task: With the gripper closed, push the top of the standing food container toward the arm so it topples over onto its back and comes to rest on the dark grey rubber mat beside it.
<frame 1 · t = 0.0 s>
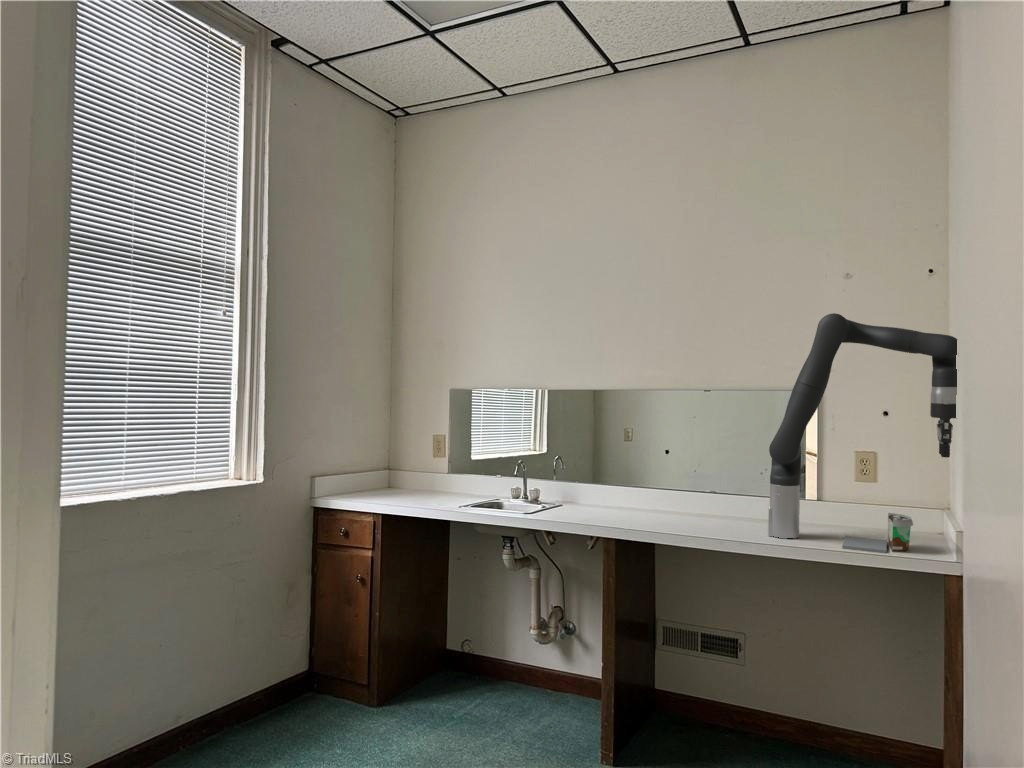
hand: (944, 455, 213), 29 cm above the counter, fingers open, 8 cm apart
food container: (901, 549, 217), on the counter
mat: (864, 545, 222), on the counter
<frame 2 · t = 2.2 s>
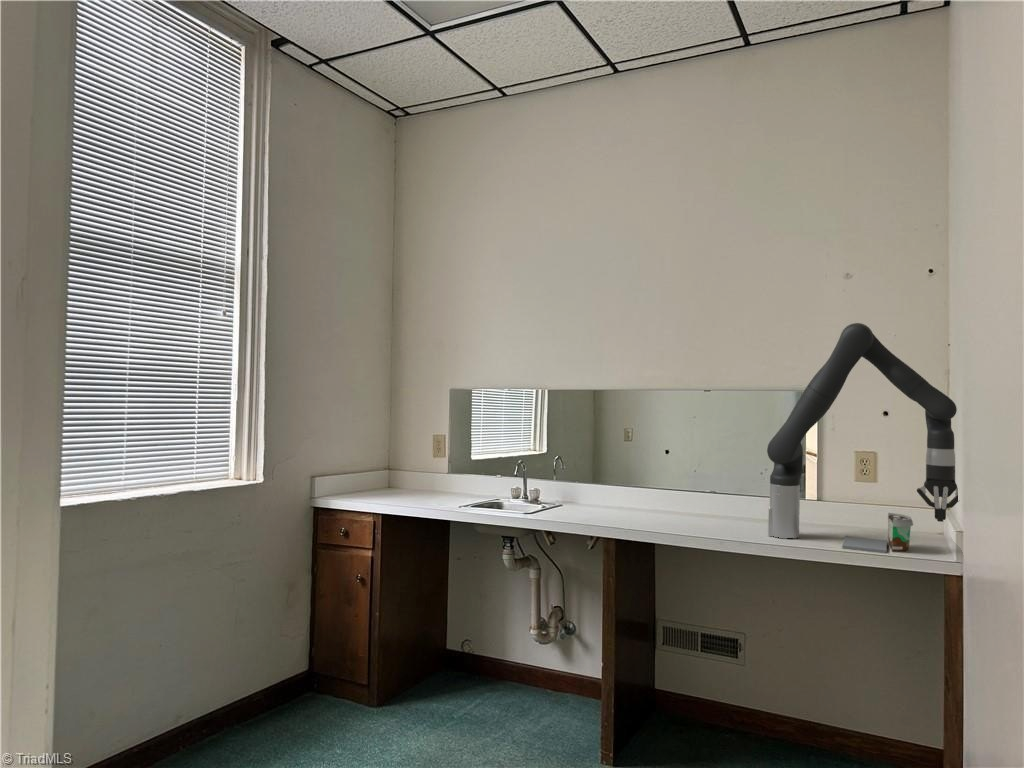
hand: (940, 521, 212), 10 cm above the counter, fingers closed
nothing on the counter moved.
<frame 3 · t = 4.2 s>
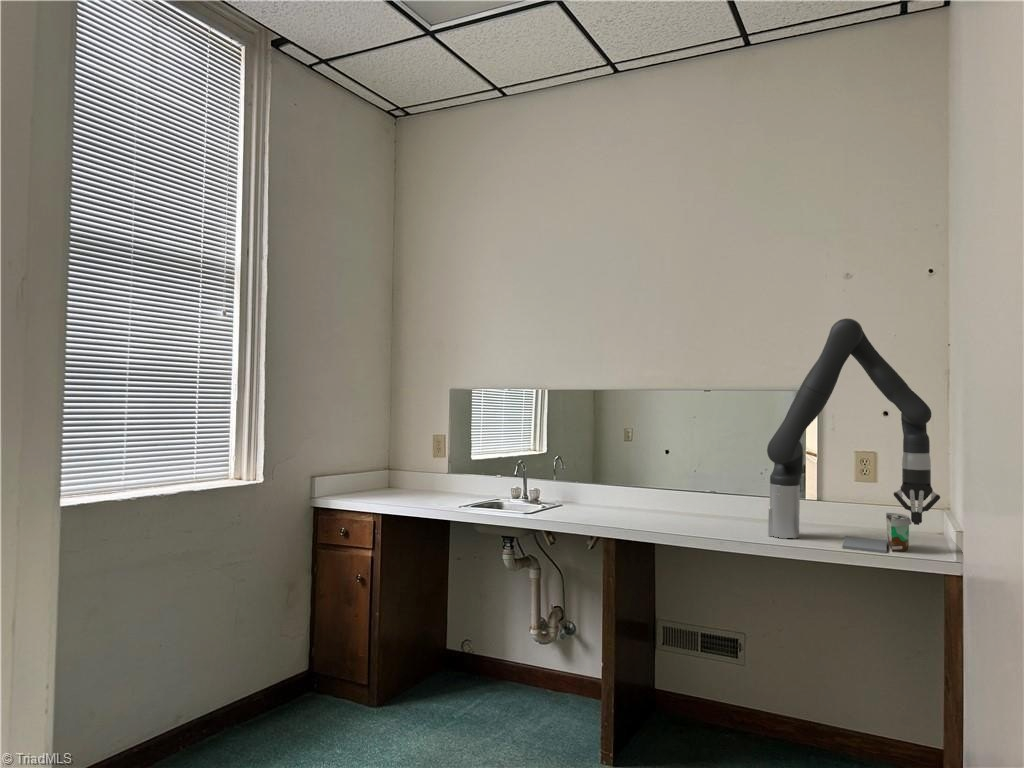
hand: (916, 524, 216), 8 cm above the counter, fingers closed
food container: (901, 549, 217), on the counter, touching gripper
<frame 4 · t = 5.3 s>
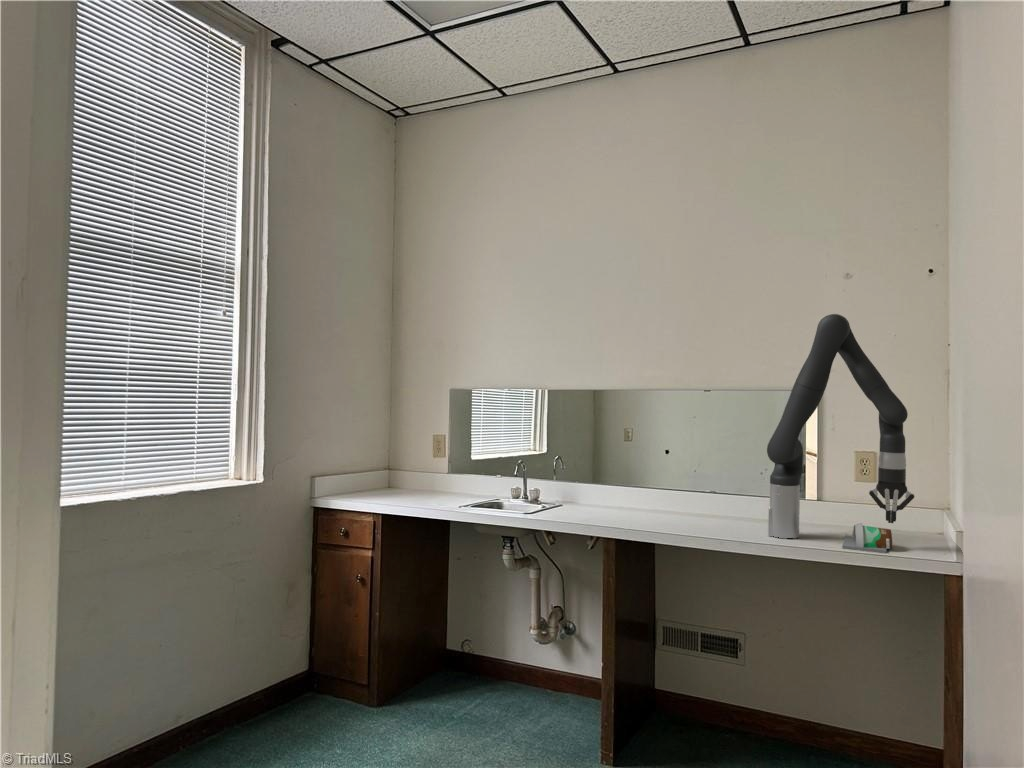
hand: (890, 522, 219), 8 cm above the counter, fingers closed
food container: (891, 535, 218), point 4 cm above the counter, touching mat
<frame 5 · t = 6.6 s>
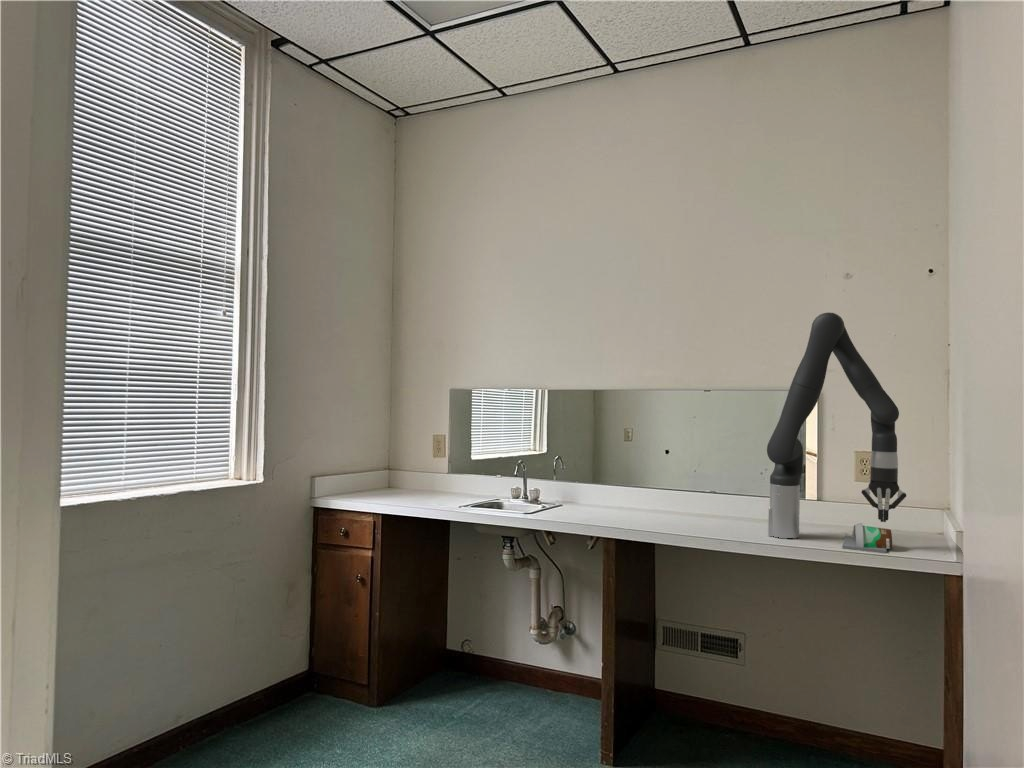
hand: (883, 521, 220), 8 cm above the counter, fingers closed
nothing on the counter moved.
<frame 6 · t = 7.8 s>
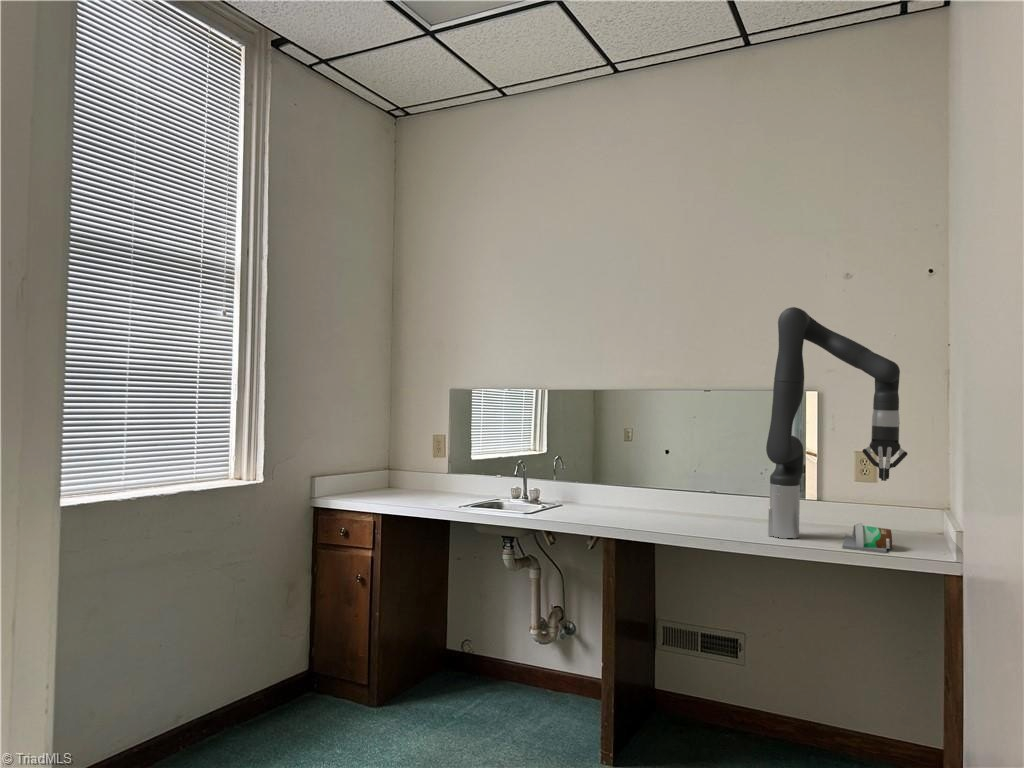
hand: (883, 480, 220), 21 cm above the counter, fingers closed
nothing on the counter moved.
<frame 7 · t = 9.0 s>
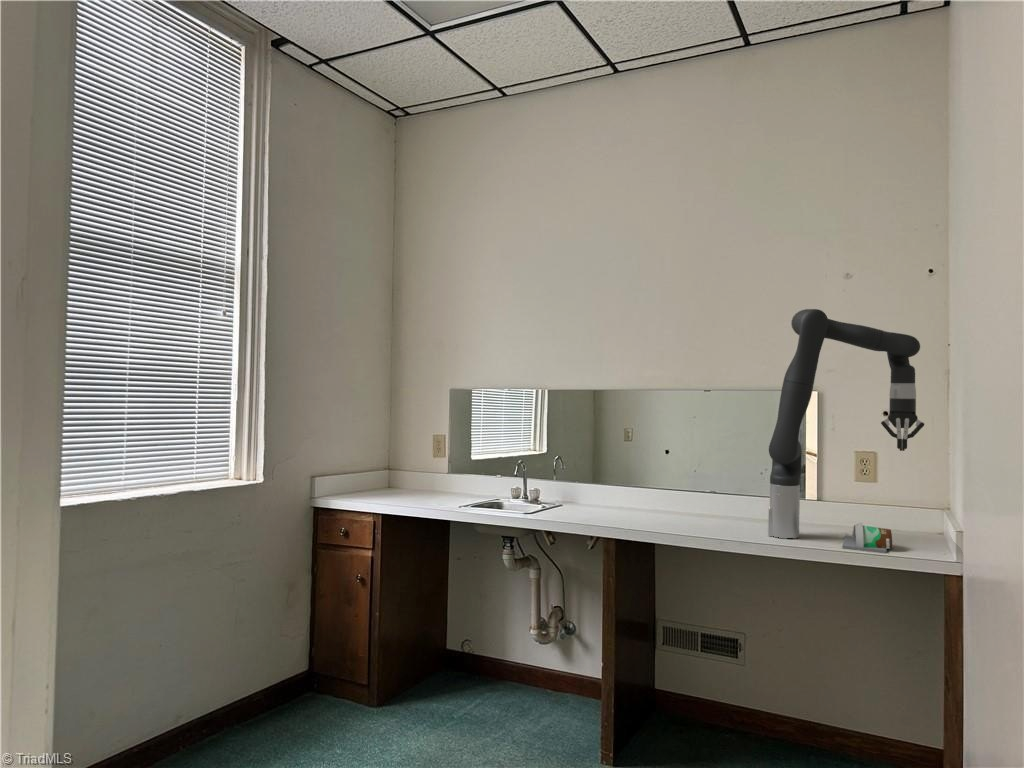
hand: (902, 450, 230), 29 cm above the counter, fingers closed
nothing on the counter moved.
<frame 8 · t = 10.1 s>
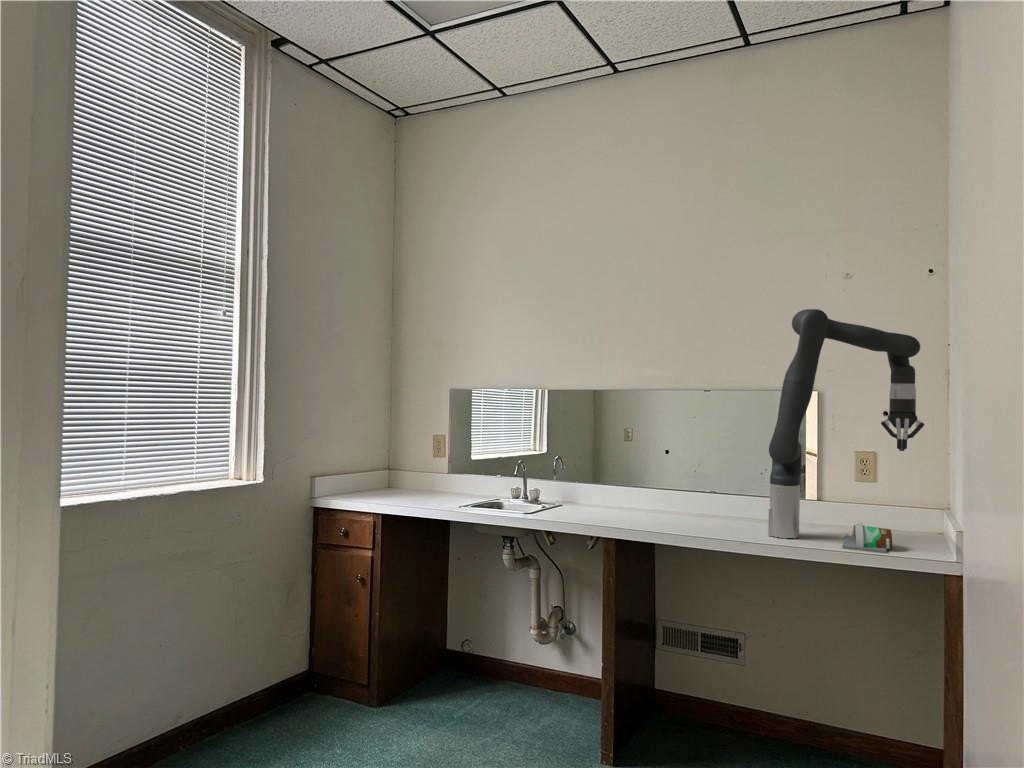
hand: (901, 450, 230), 29 cm above the counter, fingers closed
nothing on the counter moved.
at the end: food container tilted 90°; food container inside the target area (2.2 cm from its centre), point 3.9 cm above the counter; food container touching mat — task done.
